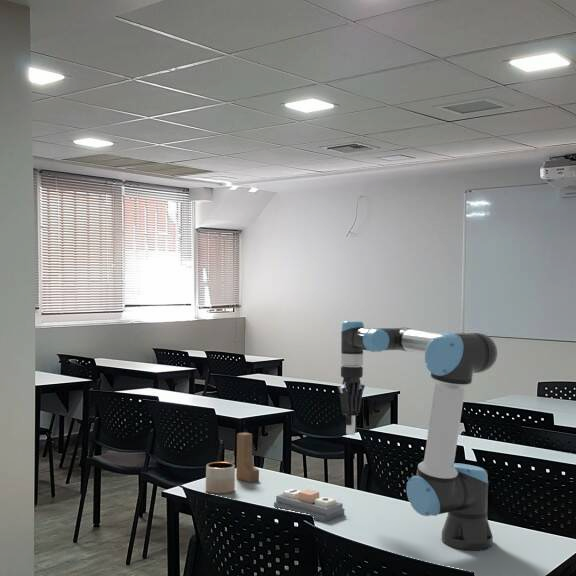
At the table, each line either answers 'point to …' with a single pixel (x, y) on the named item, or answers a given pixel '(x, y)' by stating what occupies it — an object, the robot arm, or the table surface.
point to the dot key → (325, 502)
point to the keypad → (310, 508)
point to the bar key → (292, 494)
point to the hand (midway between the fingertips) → (350, 434)
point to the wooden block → (245, 459)
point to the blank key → (308, 496)
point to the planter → (220, 477)
